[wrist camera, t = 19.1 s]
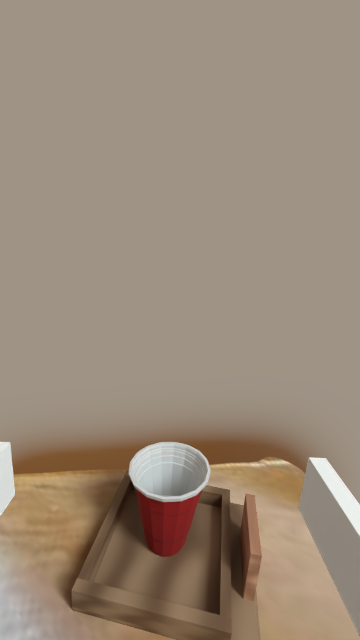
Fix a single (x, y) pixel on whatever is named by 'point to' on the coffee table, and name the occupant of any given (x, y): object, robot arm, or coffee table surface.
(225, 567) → the cup dock
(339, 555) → the robot arm
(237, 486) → the coffee table surface
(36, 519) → the coffee table surface
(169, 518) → the plastic cup
